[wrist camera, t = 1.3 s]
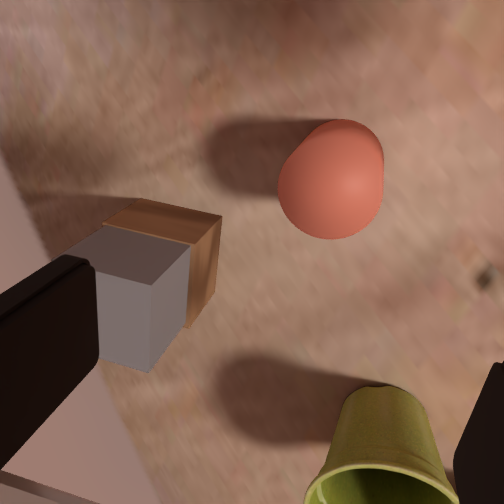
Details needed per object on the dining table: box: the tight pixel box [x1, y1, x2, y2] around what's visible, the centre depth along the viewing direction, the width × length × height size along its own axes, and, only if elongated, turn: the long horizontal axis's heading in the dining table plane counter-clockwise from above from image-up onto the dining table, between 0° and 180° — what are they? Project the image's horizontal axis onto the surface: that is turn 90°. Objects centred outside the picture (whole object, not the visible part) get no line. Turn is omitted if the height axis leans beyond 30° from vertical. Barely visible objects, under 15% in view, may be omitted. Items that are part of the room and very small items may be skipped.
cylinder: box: [278, 119, 384, 239], centre depth 24 cm, size 5×5×6 cm
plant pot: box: [303, 386, 459, 504], centre depth 30 cm, size 9×9×9 cm
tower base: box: [102, 198, 222, 329], centre depth 30 cm, size 6×6×5 cm
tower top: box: [52, 225, 191, 373], centre depth 26 cm, size 6×6×5 cm
